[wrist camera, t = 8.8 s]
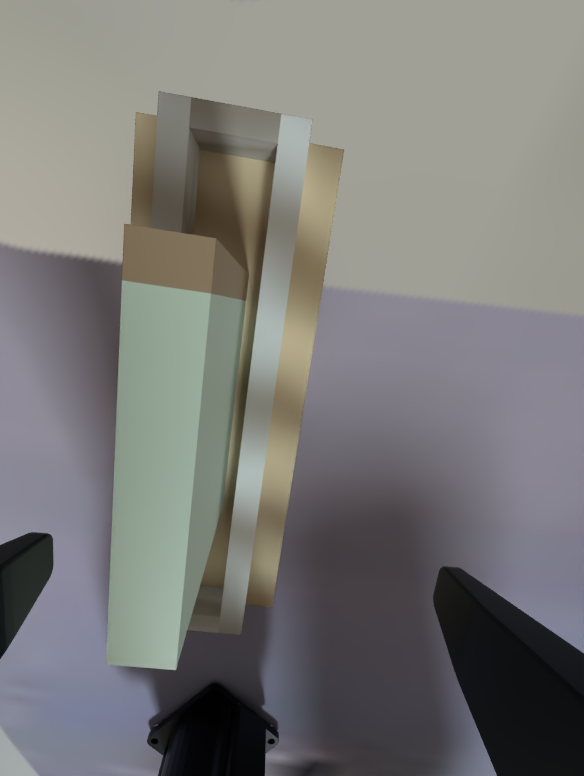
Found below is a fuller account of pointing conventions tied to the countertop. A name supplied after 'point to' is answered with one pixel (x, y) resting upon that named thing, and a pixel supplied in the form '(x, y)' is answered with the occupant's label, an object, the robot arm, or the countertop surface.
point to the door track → (248, 306)
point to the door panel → (170, 434)
